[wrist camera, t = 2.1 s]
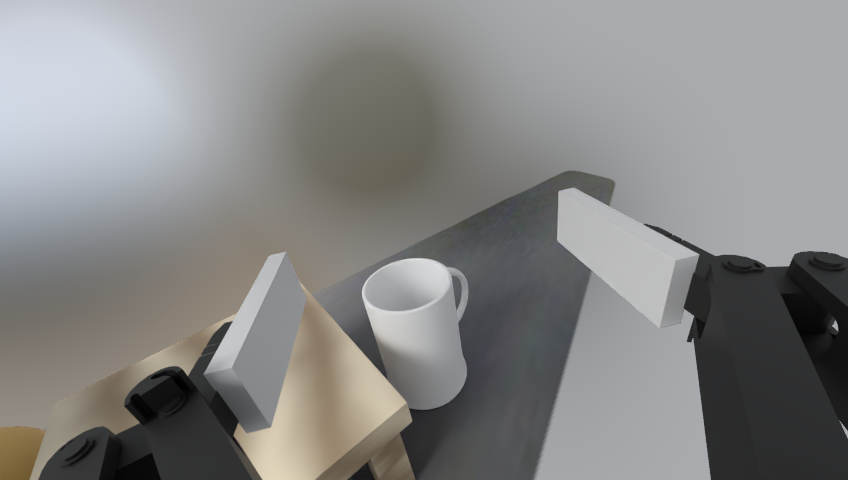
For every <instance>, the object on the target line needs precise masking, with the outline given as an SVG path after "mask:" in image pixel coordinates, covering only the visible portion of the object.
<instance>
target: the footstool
mask: <svg viewBox="0 0 848 480" xmlns="http://www.w3.org/2000/svg"><path fill="white" fill-rule="evenodd" d="M300 285H301V287H302V289H303V292H304V294H305V296H306V298H307V300H306V303H305V307H304V311H303V314H302V318H301V321H300V325H299V329H298V332H297V336H296V339H295V343H294V347H293V350H292V354H291V357H290V361H289V365H288V368H287V372H286V376H285V379H284V383H283V386H282V390H281V394H280V397H279V401H278V404H277V408H276V412H275V415H274V419H273V422H272V426H271V428H267V429H263V430H259V431H255V432H251V433H247V434H246V432H245V431H244V429H243V428H242V427H241V425H240V424H239V423H238V425H237V428H236V430H235V433H234V437H235V438H236V439H237V441H238V442H239V444H240V445H241V447H242V448H243V450H244V452H245V453H246V455H247V456H248V458H249V459H250V461H251V463H252V464H253V466H254V467H255V469H256V470H257V472H258V474H259V475H260V477H261V478H262V480H348V479H349V478H350V477H351V476H352V475H353V474H355V473H356V472H357V471H358V470H359V469H360V468H361V467H362V466H364V465H365V464H366V463H368V466H369V468H370V470H371V472H372V475H373V477H374V479H375V480H415V477H414V474H413V471H412V468H411V465H410V462H409V459H408V456H407V453H406V450H405V447H404V444H403V441H402V438H401V435H400V432H401V431H402V430H403V429H404V428H405V427H407V426H408V425H409V424H410V423H411V422H412V418H411V414H410V411H409V407H408V404H407V402H406V401H405V400H404V398H403V397H402V396H401V395H400V394H399V393H398V392H397V391H396V389H395V388H394V387H393V386H392V385H391V384H390V383H389V382H388V380H387V379H386V378H385V377H384V376H383V375H382V374H381V373H380V371H379V370H378V369H377V368H376V367H375V366H374V365H373V364H372V362H371V361H370V360H369V359H368V358H367V357H366V356H365V355H364V353H363V352H362V351H361V350H360V349H359V348H358V347H357V346H356V344H355V343H354V342H353V341H352V340H351V339H350V338H349V337H348V335H347V334H346V333H345V332H344V331H343V330H342V329H341V328H340V326H339V325H338V324H337V323H336V322H335V321H334V320H333V319H332V317H331V316H330V315H329V314H328V313H327V312H326V311H325V310H324V308H323V307H322V306H321V305H320V304H319V303H318V302H317V301H316V299H315V298H314V297H313V296H312V295H311V294H310V293H309V292H308V290H307V289H306V288H305V287H304V286H303V285H302V284H301V283H300ZM236 315H237V313H236V314H234V315H232V316H230V317H228V318H226V319H224V320H222V321H220V322H218V323H216V324H214V325H212V326H210V327H208V328H206V329H204V330H202V331H200V332H198V333H196V334H194V335H192V336H190V337H188V338H186V339H184V340H182V341H180V342H178V343H176V344H174V345H172V346H170V347H168V348H166V349H164V350H161V351H159V352H157V353H155V354H153V355H152V356H149V357H147V358H145V359H143V360H141V361H139V362H137V363H135V364H133V365H131V366H129V367H127V368H125V369H123V370H121V371H119V372H117V373H115V374H113V375H111V376H109V377H107V378H105V379H103V380H101V381H99V382H97V383H95V384H93V385H91V386H89V387H87V388H85V389H83V390H81V391H79V392H77V393H75V394H73V395H71V396H68V397H66V398H64V399H62V400H60V401H58V402H56V403H55V404H54V407H53V410H52V413H51V416H50V419H49V422H48V425H47V428H46V431H45V434H44V437H43V440H42V443H41V446H40V449H39V452H38V456H37V459H36V462H35V465H34V468H33V471H32V474H31V477H30V480H38V479H39V476H40V474H41V471H42V470H43V468H44V466H45V465H46V463H47V461H48V460H49V459H50V458H51V457H52V456H53V455H54V454H55V453H56V452H57V450H58V449H59V448H61V447H62V446H63V445H65V444H66V443H67V442H68V441H69V440H71V439H72V438H74V437H76V436H78V435H79V434H81V433H83V432H85V431H87V430H90V429H92V428H94V427H101V426H104V427H106V428H108V429H109V430H110V431H112V432H113V433H114V434H115V435H116V434H118V433H120V432H122V431H124V430H126V429H128V428H130V427H133V426H135V425H137V424H139V423H140V422H139V421H138V420H137V419H136V418H135V417H134V416H133V415H132V414H131V413H130V412H129V411H128V410H127V409H126V408H125V407H124V402H125V399H126V397H127V395H128V394H129V392H130V391H131V390H132V389H133V388H134V387H135V386H136V385H137V384H138V383H139V382H140V381H142V380H143V379H145V378H146V377H147V376H149V375H151V374H153V373H154V372H156V371H158V370H160V369H163V368H167V367H170V366H178V367H180V368H182V369H183V370H184V372H185V373H186V374H187V376H188V375H189V373H190V372H191V370H192V368H193V367H194V365H195V363H196V362H197V360H198V358H199V357H201V353H202V352H203V350H204V349H205V347H207V344H208V342H209V340H210V339H211V337H212V335H213V334H214V333H215V332H216V331H217V330H218V329H219V328H220V327H221V326H222V325H223V324H224V323H226V322H231V321H233V320H234V318H235V317H236Z"/></svg>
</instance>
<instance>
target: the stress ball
mask: <svg viewBox="0 0 848 480" xmlns="http://www.w3.org/2000/svg"><path fill="white" fill-rule="evenodd" d="M44 434H45V431H44V430H41V429H38V428H31V427H20V426H19V427H18V426H15V427H2V428H0V480H30V477H31V474H32V471H33V468H34V465H35V462H36V459H37V456H38V452H39V449H40V446H41V443H42V440H43V437H44Z"/></svg>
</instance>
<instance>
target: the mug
mask: <svg viewBox="0 0 848 480" xmlns="http://www.w3.org/2000/svg"><path fill="white" fill-rule="evenodd" d="M451 276H457V277H458V278H459V279H460V281H461V285H462V296H461V301H460V304H459V307H458V309H457V311H456V305H455V298H454V291H453V284H452V277H451ZM362 297H363V301H364V304H365V307H366V310H367V314H368V317H369V320H370V323H371V326H372V329H373V333H374V336H375V339H376V342H377V345H378V348H379V352H380V355H381V358H382V361H383V364H384V367H385V371H386V374H387V380H388V382H389V383H390V384H391V385H392V386H393V387H394V388H395V389H396V391H397V392H398V393H399V394H400V395H401V396H402V397H403V398H404V400H405V401H406V402H407V404H408V407H409V408H411V409H416V410H429V409H434V408H438V407H440V406H443V405H445V404H446V403H448V402H450V401H451V400H452V399H454V398H455V397H456V396H457V395H458V393H459V392H460V391H461V389H462V388H463V386H464V383H465V381H466V377H467V366H466V362H465V359H464V357H463V354H462V347H461V340H460V333H459V326H458V323H459V321H460V319H461V318H462V315H463V313H464V311H465V308H466V305H467V301H468V283H467V280H466V278H465V276H464V275H463V274H462V273H461V272H460V271H459V270H457V269H455V268H450V267H447V268H446V267H445V266H444V265H443V264H441V263H439V262H437V261H434V260H431V259H425V258H411V259H404V260H400V261H396V262H393V263H390V264H388V265H386V266H384V267H382V268H380V269H379V270H377V271H376V272H374V273H373V274H372V275H371V276H370V277H369V278H368V279H367V281H366V282H365V284H364V286H363V289H362Z"/></svg>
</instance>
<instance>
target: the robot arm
mask: <svg viewBox="0 0 848 480" xmlns="http://www.w3.org/2000/svg"><path fill="white" fill-rule="evenodd" d="M557 241H558V242H559V243H561V244H562V245H563V246H564V247H565V248H566V249H567V250H569V251H570V252H571V253H572V254H573V255H574V256H576V257H577V258H578V259H579V260H580V261H581V262H583V263H584V264H585V265H586V266H587V267H588V268H590V269H591V270H592V271H593V272H594V273H595V274H597V275H598V276H599V277H600V278H601V279H602V280H604V281H605V282H606V283H607V284H608V285H609V286H611V287H612V288H613V289H614V290H615V291H616V292H618V293H619V294H620V295H621V296H622V297H623V298H625V299H626V300H627V301H628V302H629V303H631V304H632V305H633V306H634V307H635V308H636V309H637V310H638V311H640V312H641V313H642V314H643V315H644V316H646V317H647V318H648V319H649V320H650V321H651V322H652V323H654V324H655V325H656V326H657V327H658V328H663V327H667V326H671V325H675V324H679V323H681V319H682V315H683V312H684V309H685V310H687V311H688V312H690V313H691V314H692V315H694V319H693V323H692V326H691V329H690V332H689V336H688V339H687V342H691V341H692V338H694V346H695V354H696V362H697V370H698V379H699V387H700V394H701V402H702V411H703V419H704V426H705V434H706V443H707V451H708V459H709V467H710V475H711V480H848V438H847V436H846V434H845V432H844V430H843V428H842V425H841V423H842V424H843V425H844V426H845V428H846V429H847V430H848V259H847V258H844V257H841V256H839V255H837V254H833V253H830V254H829V253H828V252H813V251H808V252H800V253H797V254H795V255H794V257H793V259H792V261H791V264H790V266H789V267H766V266H765V265H764V264H762V263H760V262H758V261H756V260H753V259H750V258H747V257H742V256H737V255H720V256H714V255H712V254H710V253H708V252H706V251H704V250H702V249H700V248H698V247H696V246H694V245H692V244H690V243H688V242H686V241H684V240H683V241H682V239H681V238H679V237H677V236H675V235H672V234H671V233H669V232H667V231H665V230H663V229H661V228H659V227H655V226H651V225H648V224H641V223H639V222H637V221H635V220H633V219H631V218H630V217H628V216H626V215H624V214H622V213H620V212H619V211H617V210H615V209H613V208H611V207H609V206H607V205H605V204H604V203H602V202H600V201H598V200H596V199H594V198H592V197H590V196H589V195H587V194H585V193H583V192H581V191H579V190H577V189H575V188H570V189H565V190H561V191H559V199H558V231H557ZM306 300H307V298H306V296H305V294H304V292H303V289H302V287H301V285H300V282H299V280H298V278H297V276H296V273H295V271H294V269H293V266H292V264H291V262H290V260H289V257H288V255H287V253H286V252H283V253H279V254H274V255H270V256H269V257H268V259H267V261H266V263H265V264H264V266H263V268H262V270H261V272H260V273H259V276H258V277H257V279H256V281H255V283H254V284H253V286H252V288H251V290H250V292H249V293H248V295H247V297H246V299H245V300H244V302H243V304H242V306H241V308H240V309H239V311H238V313H237V315H236V317H235V318H234V320H233V321H231V322H226V323H224V324H223V325H222V326H221V327H220V328H219V329H218V330H217V331H216V332H215V333H214V334H213V335H212V337H211V339H210V340H209V342H208V344H207V347H205V349H204V350H203V352H202V353H201V357H199V358H198V360H197V362H196V363H195V365H194V367H193V368H192V370H191V372H190V373H189V375H188V376H187V374H186V373H185V372H184V370H183V369H182V368H180V367H178V366H170V367H167V368H163V369H160V370H158V371H156V372H154V373H153V374H151V375H149V376H147V377H146V378H145V379H143V380H142V381H140V382H139V383H138V384H137V385H136V386H135V387H134V388H133V389H132V390H131V391H130V392H129V394H128V395H127V397H126V399H125V402H124V407H125V408H126V409H127V410H128V411H129V412H130V413H131V414H132V415H133V416H134V417H135V418H136V419H137V420H138V421H139V422H140V423H139V424H137V425H135V426H133V427H130V428H128V429H126V430H124V431H122V432H120V433H118V434H116V435H115V434H114V433H113V432H112V431H110V430H109V429H108V428H106V427H104V426H101V427H94V428H92V429H90V430H87V431H85V432H83V433H81V434H79V435H78V436H76V437H74V438H72V439H71V440H69V441H68V442H67V443H66V444H65V445H63V446H62V447H61V448H59V449H58V450H57V452H56V453H55V454H54V455H53V456H52V457H51V458H50V459H49V460H48V461H47V463H46V465H45V466H44V468H43V470H42V471H41V474H40V476H39V479H38V480H262V478H261V477H260V475H259V474H258V472H257V470H256V469H255V467H254V466H253V464H252V463H251V461H250V459H249V458H248V456H247V455H246V453H245V452H244V450H243V448H242V447H241V445H240V444H239V442H238V441H237V439H236V438H235V437H234V433H235V430H236V428H237V425H238V423H239V424H240V425H241V427H242V428H243V429H244V431H245V432H246V434H247V433H251V432H255V431H259V430H263V429H267V428H271V426H272V422H273V419H274V415H275V412H276V408H277V404H278V401H279V397H280V394H281V390H282V386H283V383H284V379H285V376H286V372H287V368H288V365H289V361H290V357H291V354H292V350H293V347H294V343H295V339H296V336H297V332H298V329H299V325H300V321H301V318H302V314H303V311H304V307H305V303H306ZM835 320H836V322H837V324H838V331H837V330H836V329H835V328H833V327H832V325H833V324H834V322H835ZM839 420H840V421H841V423H840V421H839Z"/></svg>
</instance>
